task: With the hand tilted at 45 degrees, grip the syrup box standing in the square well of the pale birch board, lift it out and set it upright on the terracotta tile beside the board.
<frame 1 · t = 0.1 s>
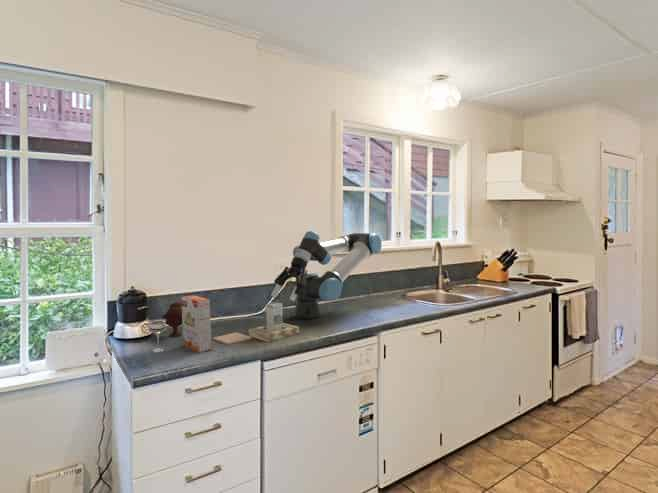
hand: (282, 298, 195), 15 cm above the countertop, tool tilted 35°, fingers open, 13 cm apart
terracotta tile: (232, 339, 183), on the countertop
syrup box: (274, 335, 189), resting in well board
well board: (274, 334, 189), on the countertop
cracker box: (196, 348, 170), on the countertop
wineglass: (158, 350, 168), on the countertop
ice cream bowl: (175, 335, 190), on the countertop
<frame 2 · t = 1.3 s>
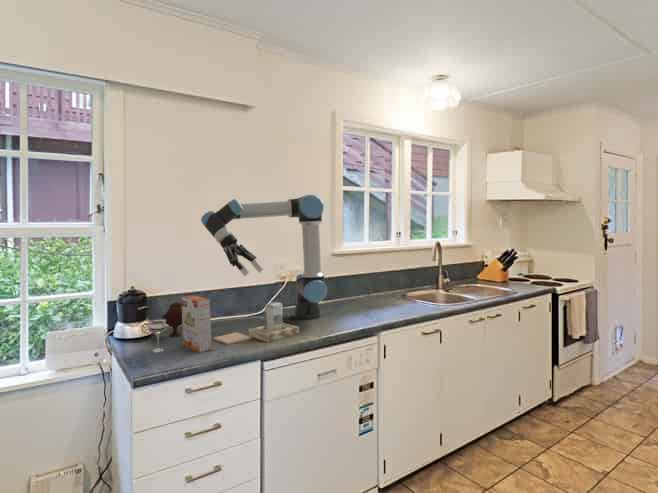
hand: (254, 272, 191), 28 cm above the countertop, tool tilted 45°, fingers open, 13 cm apart
nothing on the countertop moved.
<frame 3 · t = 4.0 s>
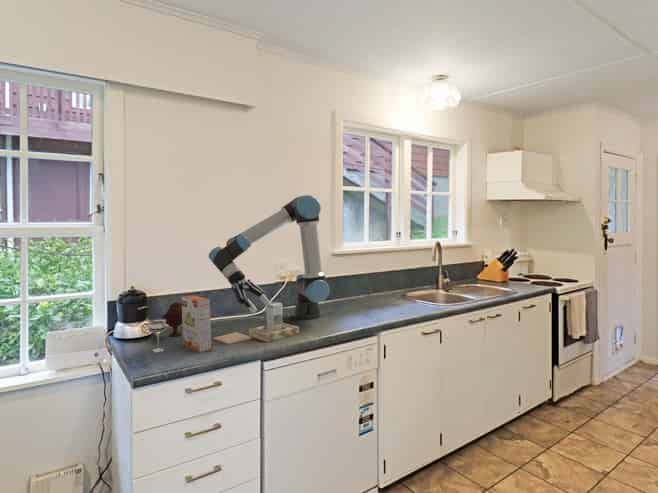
hand: (262, 308, 190), 12 cm above the countertop, tool tilted 45°, fingers open, 13 cm apart
nothing on the countertop moved.
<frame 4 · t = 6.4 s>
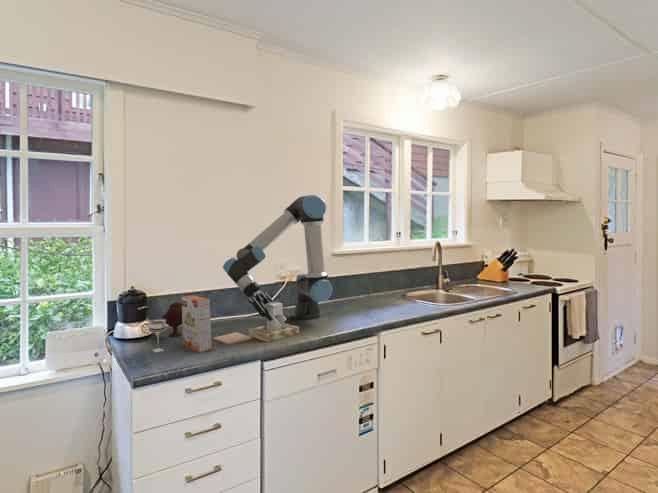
hand: (280, 323, 188), 6 cm above the countertop, tool tilted 45°, fingers closed on syrup box, 7 cm apart
syrup box: (274, 335, 189), resting in well board, touching gripper
everything else where it was.
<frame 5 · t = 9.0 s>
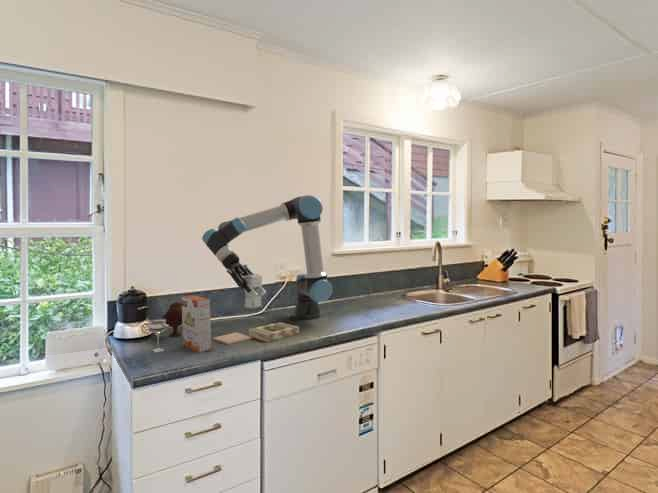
hand: (260, 295, 184), 19 cm above the countertop, tool tilted 45°, fingers closed on syrup box, 7 cm apart
syrup box: (253, 307, 185), point 13 cm above the countertop, touching gripper
everything else where it was.
when the fingers open (8 cm above the countertop, at t = 12.0 s): syrup box drops 1 cm, resting on terracotta tile.
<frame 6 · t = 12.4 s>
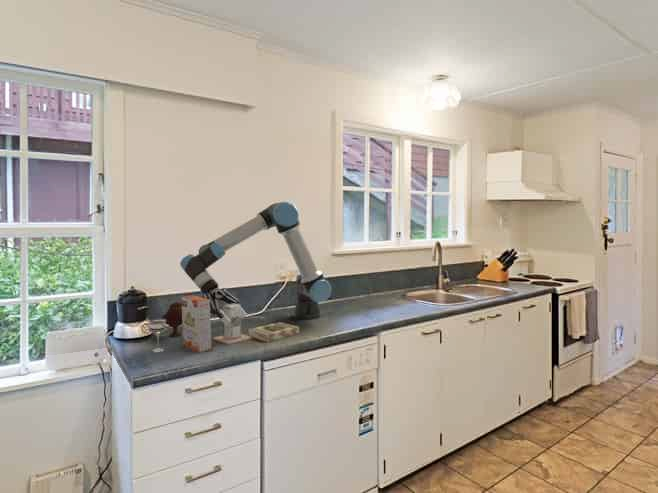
hand: (236, 319, 181), 9 cm above the countertop, tool tilted 45°, fingers open, 13 cm apart
syrup box: (232, 337, 183), point 1 cm above the countertop, touching terracotta tile
everything else where it was.
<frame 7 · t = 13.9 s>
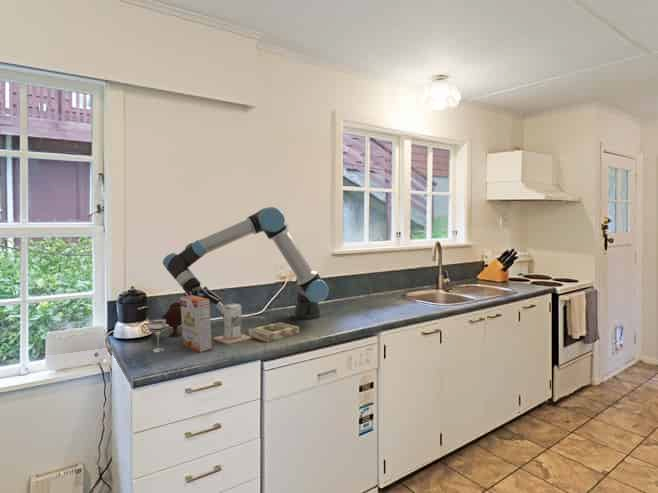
hand: (217, 317, 184), 9 cm above the countertop, tool tilted 45°, fingers open, 13 cm apart
cracker box: (197, 348, 170), on the countertop, touching gripper, hand
everything else where it was.
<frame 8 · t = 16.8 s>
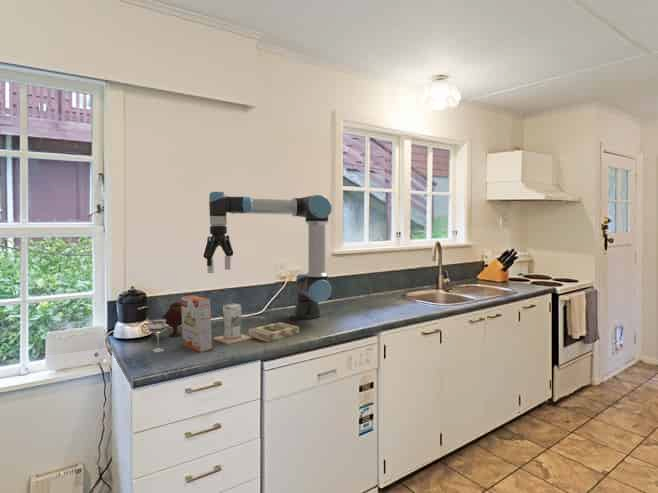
hand: (219, 271, 193), 29 cm above the countertop, tool pointing down, fingers open, 13 cm apart
cracker box: (197, 348, 170), on the countertop
everything else where it was.
at the end: syrup box inside the target area on the terracotta tile (0.3 cm from its centre), point 0.6 cm above the terracotta tile's base; syrup box tilted 0°; the gripper is holding nothing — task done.
